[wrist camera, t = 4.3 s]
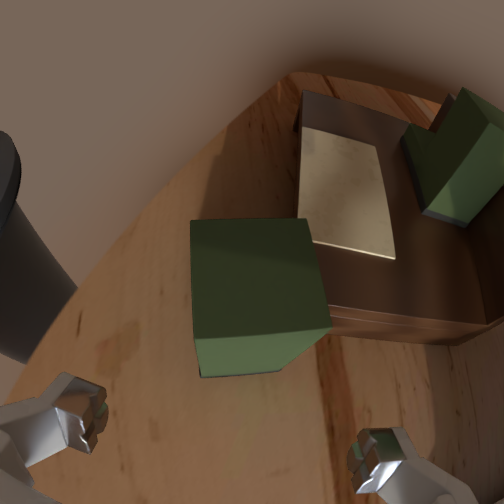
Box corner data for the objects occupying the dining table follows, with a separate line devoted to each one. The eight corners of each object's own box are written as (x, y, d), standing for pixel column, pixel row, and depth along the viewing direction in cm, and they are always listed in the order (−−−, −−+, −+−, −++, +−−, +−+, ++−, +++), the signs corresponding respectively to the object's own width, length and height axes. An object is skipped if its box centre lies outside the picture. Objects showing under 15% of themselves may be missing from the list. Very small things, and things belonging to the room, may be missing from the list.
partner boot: (421, 214, 22) (489, 121, 13) (399, 140, 27) (439, 61, 18) (464, 228, 22) (531, 151, 13) (438, 155, 27) (481, 85, 19)
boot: (200, 378, 18) (190, 340, 10) (193, 245, 23) (189, 142, 15) (279, 371, 19) (336, 327, 11) (260, 243, 24) (287, 143, 16)
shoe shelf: (272, 325, 21) (327, 237, 11) (293, 124, 34) (315, 42, 24) (457, 346, 21) (550, 292, 12) (417, 161, 34) (456, 96, 25)
